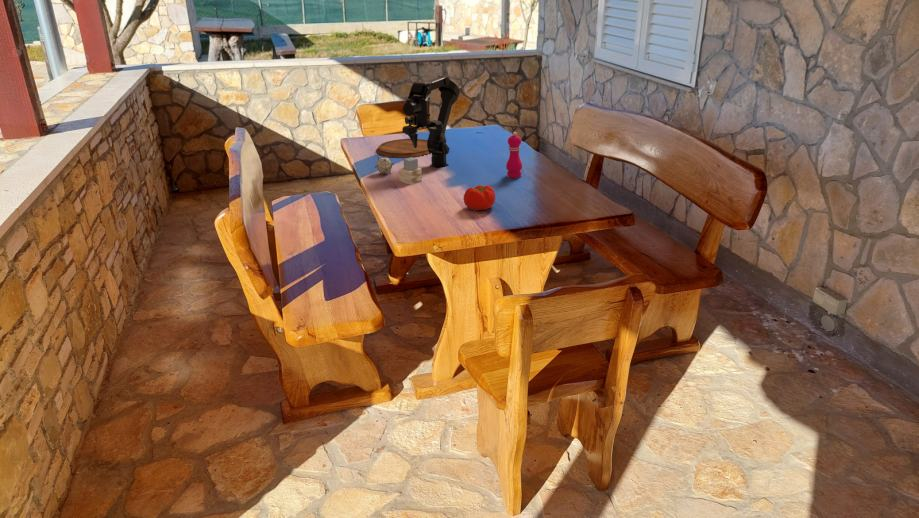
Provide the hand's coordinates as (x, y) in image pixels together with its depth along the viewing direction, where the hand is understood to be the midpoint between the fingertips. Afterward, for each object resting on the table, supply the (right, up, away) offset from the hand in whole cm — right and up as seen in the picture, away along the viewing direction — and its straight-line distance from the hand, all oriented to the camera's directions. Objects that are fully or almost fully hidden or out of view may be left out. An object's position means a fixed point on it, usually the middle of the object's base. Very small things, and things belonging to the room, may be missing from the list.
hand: (423, 146), depth 286 cm
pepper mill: (+41, -14, -3) cm, 43 cm away
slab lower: (-5, -17, -6) cm, 19 cm away
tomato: (+25, -32, -40) cm, 56 cm away
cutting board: (-11, +5, +44) cm, 45 cm away
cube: (-5, -11, -8) cm, 15 cm away
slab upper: (-5, -14, -7) cm, 17 cm away
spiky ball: (-18, -12, +5) cm, 22 cm away
